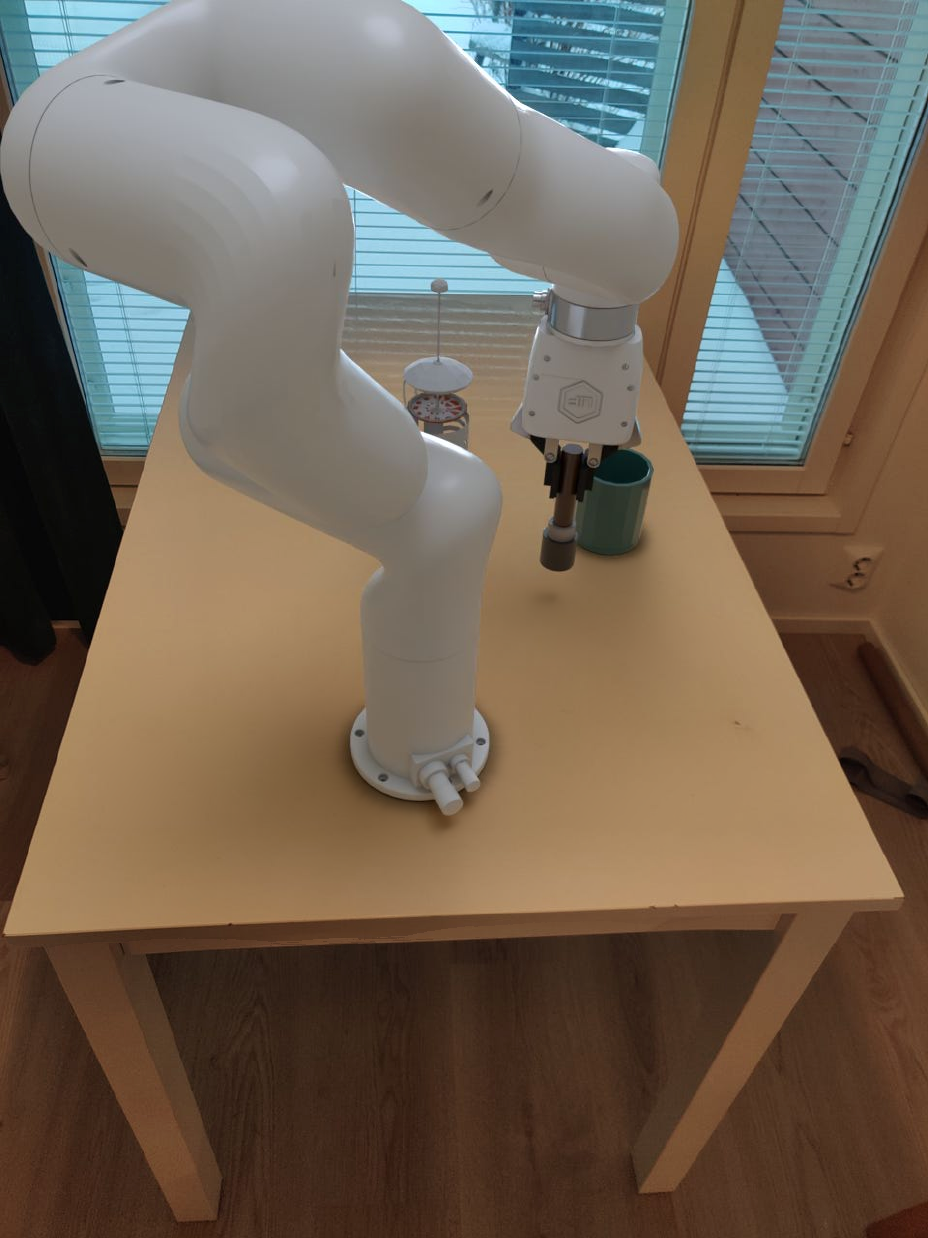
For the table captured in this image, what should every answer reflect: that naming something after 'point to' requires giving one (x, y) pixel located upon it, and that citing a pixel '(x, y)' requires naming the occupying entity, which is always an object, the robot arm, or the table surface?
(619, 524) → the cup
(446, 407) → the french press
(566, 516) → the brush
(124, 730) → the table surface
